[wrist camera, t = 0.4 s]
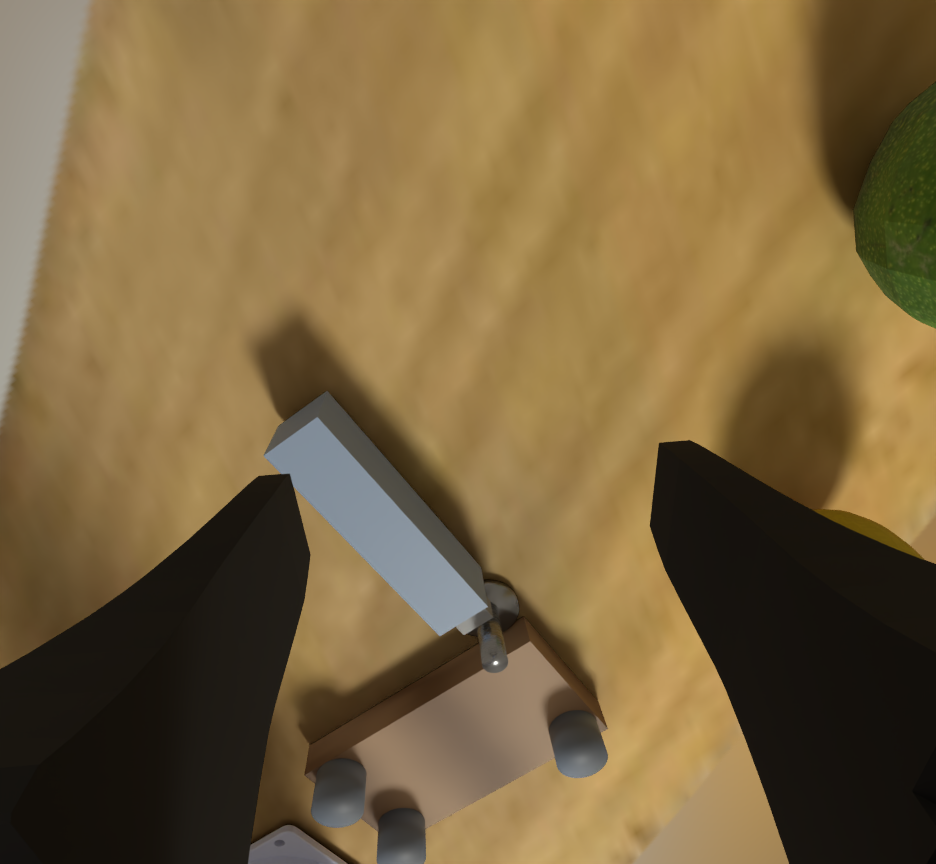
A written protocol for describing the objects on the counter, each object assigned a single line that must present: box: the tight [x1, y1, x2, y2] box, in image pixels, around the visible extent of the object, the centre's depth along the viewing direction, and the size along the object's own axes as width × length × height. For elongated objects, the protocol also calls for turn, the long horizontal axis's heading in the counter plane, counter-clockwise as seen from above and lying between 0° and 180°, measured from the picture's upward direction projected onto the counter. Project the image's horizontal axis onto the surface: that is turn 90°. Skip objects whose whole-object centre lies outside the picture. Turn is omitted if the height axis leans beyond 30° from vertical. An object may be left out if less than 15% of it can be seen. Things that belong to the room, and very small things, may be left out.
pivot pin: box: [467, 580, 519, 673], centre depth 24 cm, size 3×3×3 cm
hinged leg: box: [264, 391, 493, 636], centre depth 22 cm, size 11×2×2 cm, turn 35°
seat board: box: [305, 617, 608, 864], centre depth 27 cm, size 12×7×3 cm, turn 125°
